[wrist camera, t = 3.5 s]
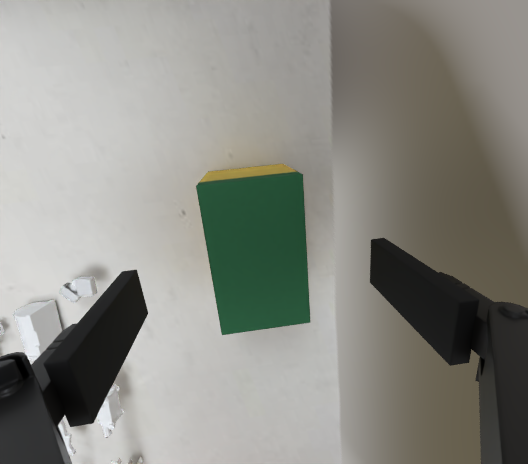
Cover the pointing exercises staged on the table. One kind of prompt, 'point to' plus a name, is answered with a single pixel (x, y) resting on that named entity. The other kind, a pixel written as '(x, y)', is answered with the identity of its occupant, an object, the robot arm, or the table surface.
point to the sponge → (256, 246)
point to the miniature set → (43, 334)
